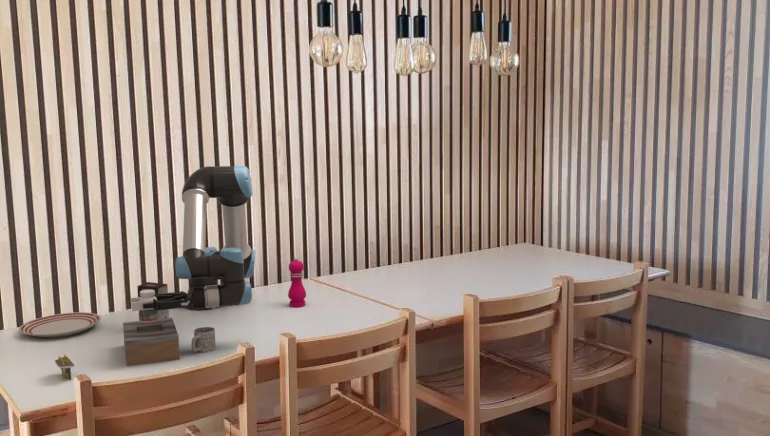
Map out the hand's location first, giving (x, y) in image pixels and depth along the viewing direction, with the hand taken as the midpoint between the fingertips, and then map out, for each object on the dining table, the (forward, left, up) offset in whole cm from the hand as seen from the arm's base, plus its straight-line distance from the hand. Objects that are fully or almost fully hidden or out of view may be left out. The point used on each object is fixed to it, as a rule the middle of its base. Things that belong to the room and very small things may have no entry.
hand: (131, 304), depth 241 cm
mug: (+5, +21, -17) cm, 27 cm away
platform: (+14, -20, -17) cm, 30 cm away
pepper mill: (-39, +64, -17) cm, 77 cm away
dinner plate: (-40, -24, -17) cm, 50 cm away
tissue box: (0, +5, -17) cm, 18 cm away
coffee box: (-30, +8, -17) cm, 36 cm away
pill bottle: (0, +5, -6) cm, 8 cm away
